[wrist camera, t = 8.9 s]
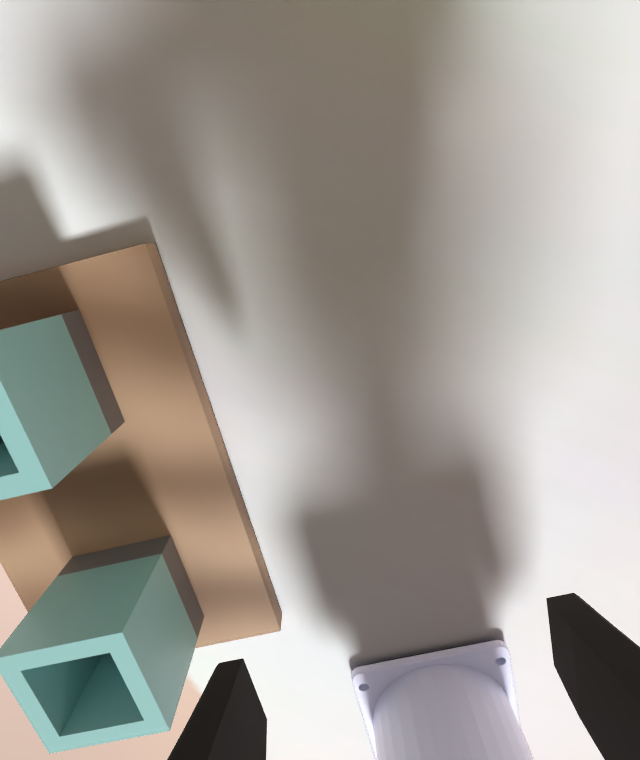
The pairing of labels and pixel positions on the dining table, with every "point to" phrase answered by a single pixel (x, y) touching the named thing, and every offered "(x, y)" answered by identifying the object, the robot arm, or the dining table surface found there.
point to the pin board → (139, 451)
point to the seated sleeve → (106, 647)
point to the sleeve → (50, 402)
